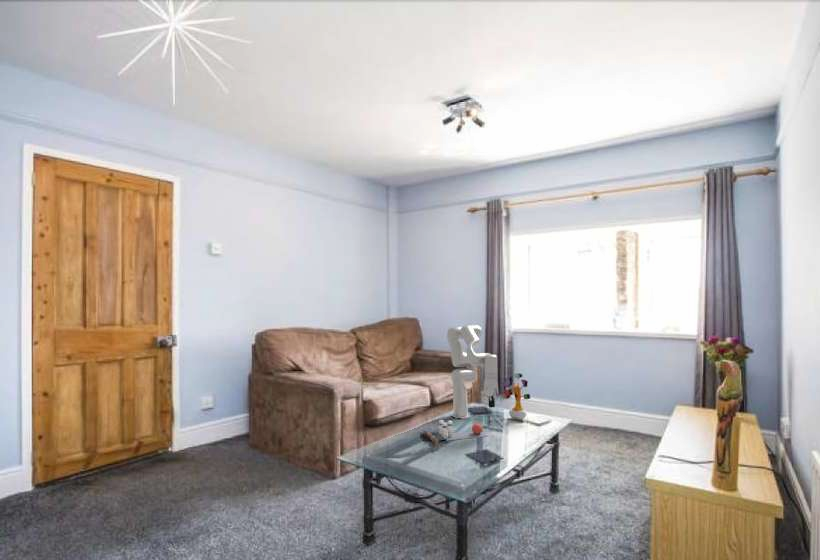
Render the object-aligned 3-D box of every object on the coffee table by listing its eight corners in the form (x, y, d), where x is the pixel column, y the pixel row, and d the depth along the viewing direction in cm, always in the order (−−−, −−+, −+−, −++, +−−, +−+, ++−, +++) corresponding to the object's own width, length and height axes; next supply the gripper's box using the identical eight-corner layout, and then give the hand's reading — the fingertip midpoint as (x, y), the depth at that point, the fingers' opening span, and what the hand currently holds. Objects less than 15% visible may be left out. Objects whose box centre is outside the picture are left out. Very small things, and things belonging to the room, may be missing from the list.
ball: (470, 433, 258) (470, 422, 258) (479, 432, 259) (479, 422, 260) (474, 436, 252) (474, 425, 252) (484, 435, 254) (483, 424, 254)
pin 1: (438, 436, 253) (438, 420, 253) (442, 435, 254) (442, 420, 254) (440, 437, 250) (440, 421, 251) (444, 437, 251) (444, 421, 251)
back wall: (424, 434, 257) (424, 429, 257) (426, 433, 257) (426, 429, 257) (435, 445, 238) (435, 440, 238) (438, 444, 238) (438, 440, 238)
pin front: (447, 436, 252) (447, 420, 252) (451, 436, 252) (451, 420, 253) (448, 438, 249) (448, 422, 250) (452, 437, 250) (452, 421, 250)
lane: (431, 435, 253) (431, 435, 253) (479, 430, 262) (479, 430, 262) (438, 441, 243) (438, 441, 243) (487, 436, 252) (487, 436, 252)
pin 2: (441, 438, 248) (441, 422, 248) (445, 438, 249) (445, 422, 249) (443, 440, 246) (443, 423, 246) (447, 439, 246) (447, 423, 247)
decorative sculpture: (500, 417, 291) (500, 371, 293) (508, 415, 296) (508, 370, 297) (525, 424, 275) (524, 376, 277) (533, 421, 280) (532, 374, 281)
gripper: (479, 374, 266) (480, 404, 265) (491, 378, 251) (491, 410, 250) (490, 373, 268) (491, 403, 267) (502, 377, 254) (503, 409, 253)
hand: (491, 407), depth 259 cm, fingers closed
